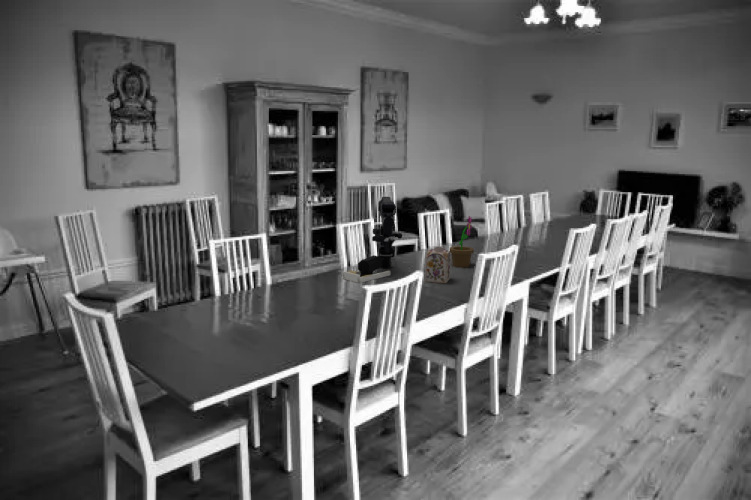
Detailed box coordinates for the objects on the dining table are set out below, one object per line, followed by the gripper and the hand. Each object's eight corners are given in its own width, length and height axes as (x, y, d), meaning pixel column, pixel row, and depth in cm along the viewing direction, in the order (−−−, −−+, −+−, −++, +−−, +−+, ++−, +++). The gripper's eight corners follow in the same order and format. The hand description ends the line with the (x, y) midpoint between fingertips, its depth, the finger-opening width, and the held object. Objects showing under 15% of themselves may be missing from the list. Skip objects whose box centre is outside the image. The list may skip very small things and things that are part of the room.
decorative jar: (446, 284, 301) (447, 249, 298) (424, 282, 305) (425, 248, 301) (450, 278, 313) (451, 245, 309) (429, 276, 316) (430, 244, 312)
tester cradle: (374, 271, 325) (374, 262, 324) (390, 275, 317) (390, 266, 316) (342, 278, 309) (342, 269, 308) (358, 283, 300) (358, 273, 299)
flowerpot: (470, 269, 334) (472, 217, 328) (445, 266, 339) (447, 215, 333) (475, 264, 347) (478, 214, 341) (452, 261, 352) (454, 212, 346)
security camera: (354, 279, 307) (355, 261, 305) (371, 272, 323) (371, 254, 321) (366, 281, 304) (366, 262, 302) (382, 273, 320) (382, 256, 318)
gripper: (388, 220, 330) (388, 247, 334) (365, 224, 317) (364, 252, 320) (403, 223, 323) (402, 250, 326) (379, 227, 310) (379, 255, 313)
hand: (387, 252), depth 322 cm, fingers closed
